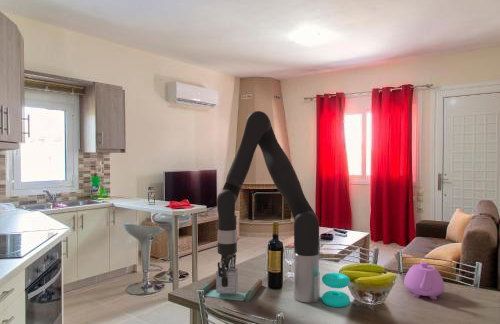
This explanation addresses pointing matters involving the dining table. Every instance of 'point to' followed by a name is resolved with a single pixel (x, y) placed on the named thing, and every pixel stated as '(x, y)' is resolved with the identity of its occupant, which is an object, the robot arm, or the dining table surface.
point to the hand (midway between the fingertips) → (227, 284)
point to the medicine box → (232, 282)
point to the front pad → (227, 295)
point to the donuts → (333, 296)
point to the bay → (248, 295)
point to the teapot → (424, 281)
